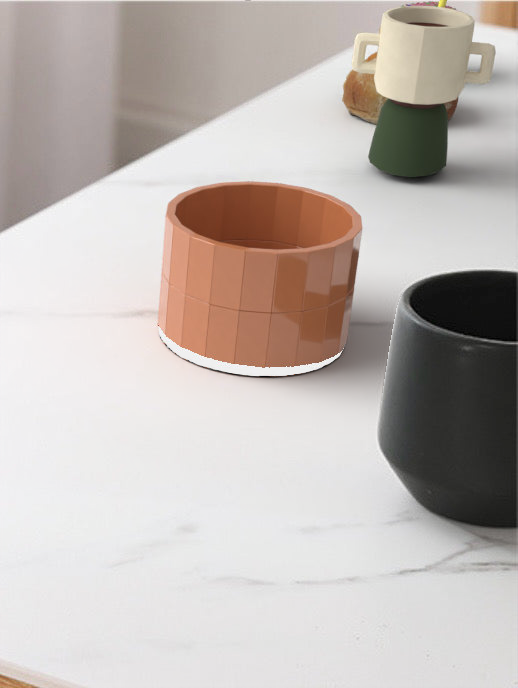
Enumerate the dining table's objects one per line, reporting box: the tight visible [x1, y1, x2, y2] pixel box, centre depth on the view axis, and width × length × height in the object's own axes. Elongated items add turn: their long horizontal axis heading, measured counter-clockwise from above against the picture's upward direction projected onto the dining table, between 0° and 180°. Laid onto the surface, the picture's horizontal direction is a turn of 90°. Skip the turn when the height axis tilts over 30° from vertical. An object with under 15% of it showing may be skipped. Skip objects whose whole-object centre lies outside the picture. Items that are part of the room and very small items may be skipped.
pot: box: [157, 180, 363, 368], centre depth 102 cm, size 12×12×8 cm
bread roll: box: [341, 50, 459, 126], centre depth 143 cm, size 10×10×8 cm
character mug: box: [351, 5, 496, 178], centre depth 128 cm, size 11×7×13 cm, turn 69°
